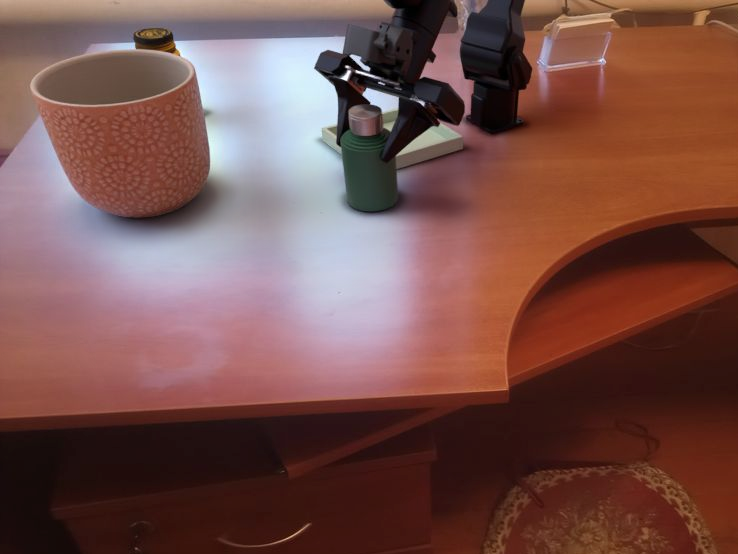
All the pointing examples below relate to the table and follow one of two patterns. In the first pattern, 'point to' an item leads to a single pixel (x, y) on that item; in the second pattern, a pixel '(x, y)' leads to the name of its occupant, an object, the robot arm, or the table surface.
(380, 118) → the cap
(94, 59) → the planter
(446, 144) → the tray
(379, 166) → the bottle
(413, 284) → the table surface
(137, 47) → the condiment
